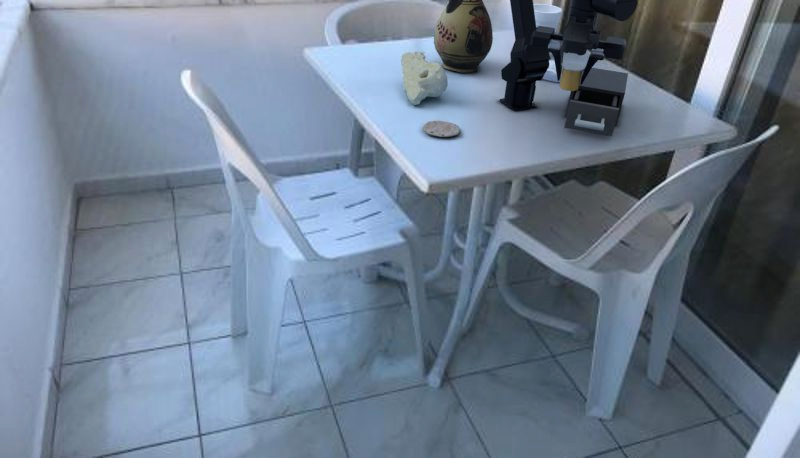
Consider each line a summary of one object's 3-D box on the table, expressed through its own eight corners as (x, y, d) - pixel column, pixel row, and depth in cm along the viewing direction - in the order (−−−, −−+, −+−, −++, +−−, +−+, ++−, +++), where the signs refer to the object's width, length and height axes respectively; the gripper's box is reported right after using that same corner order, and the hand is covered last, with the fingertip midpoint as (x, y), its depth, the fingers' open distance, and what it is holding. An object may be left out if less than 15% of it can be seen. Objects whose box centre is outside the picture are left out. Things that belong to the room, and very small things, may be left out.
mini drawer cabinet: (616, 126, 146) (625, 93, 142) (565, 117, 149) (572, 84, 145) (619, 105, 157) (628, 73, 153) (572, 96, 160) (578, 65, 155)
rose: (546, 68, 163) (528, 55, 171) (543, 84, 166) (525, 71, 173) (580, 65, 166) (560, 53, 174) (576, 82, 169) (557, 69, 176)
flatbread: (418, 134, 137) (418, 130, 137) (429, 120, 143) (429, 116, 143) (454, 141, 135) (455, 137, 135) (464, 128, 141) (464, 123, 141)
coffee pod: (566, 93, 135) (571, 71, 132) (552, 84, 138) (556, 63, 136) (585, 90, 137) (590, 68, 134) (570, 82, 140) (574, 60, 138)
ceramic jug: (473, 55, 182) (486, -59, 165) (498, 74, 170) (515, -46, 154) (417, 59, 177) (425, -58, 160) (439, 79, 165) (451, -45, 148)
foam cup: (555, 60, 182) (564, 14, 175) (523, 58, 182) (531, 12, 175) (549, 49, 190) (558, 4, 183) (518, 47, 190) (525, 2, 182)
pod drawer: (610, 146, 136) (617, 118, 132) (561, 136, 138) (566, 109, 135) (615, 115, 149) (622, 89, 146) (570, 107, 152) (576, 82, 148)
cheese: (444, 118, 150) (466, 64, 154) (427, 100, 145) (450, 45, 149) (396, 117, 160) (418, 67, 164) (379, 101, 155) (401, 49, 159)
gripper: (531, 10, 124) (518, 86, 133) (630, 24, 119) (610, 103, 128) (541, -3, 133) (529, 70, 142) (634, 10, 128) (615, 85, 137)
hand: (569, 82), depth 137 cm, fingers closed on coffee pod, 4 cm apart
